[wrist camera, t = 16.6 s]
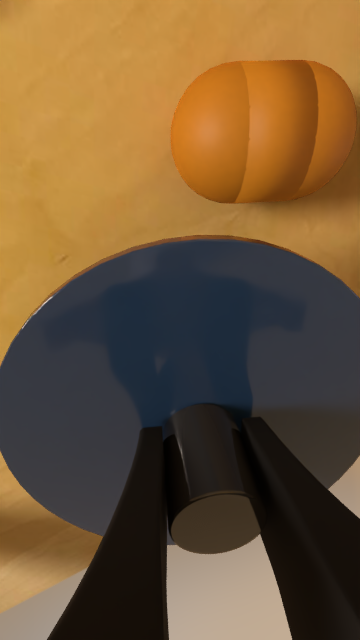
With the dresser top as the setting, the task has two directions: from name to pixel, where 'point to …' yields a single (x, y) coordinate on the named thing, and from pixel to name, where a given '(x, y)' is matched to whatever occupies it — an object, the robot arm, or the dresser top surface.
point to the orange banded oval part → (263, 130)
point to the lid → (182, 382)
